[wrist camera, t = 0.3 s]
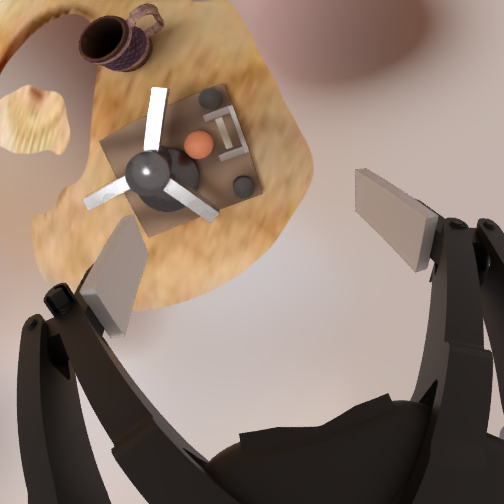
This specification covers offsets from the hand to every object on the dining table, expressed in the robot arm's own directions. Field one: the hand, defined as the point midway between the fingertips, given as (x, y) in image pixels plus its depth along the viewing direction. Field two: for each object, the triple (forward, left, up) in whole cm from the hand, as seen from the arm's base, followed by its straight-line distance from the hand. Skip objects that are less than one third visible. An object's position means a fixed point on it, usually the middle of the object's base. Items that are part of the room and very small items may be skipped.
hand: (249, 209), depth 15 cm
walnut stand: (+1, -8, -27) cm, 28 cm away
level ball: (-1, -4, -25) cm, 26 cm away
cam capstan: (-1, -12, -25) cm, 28 cm away
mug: (-20, -7, -27) cm, 34 cm away
